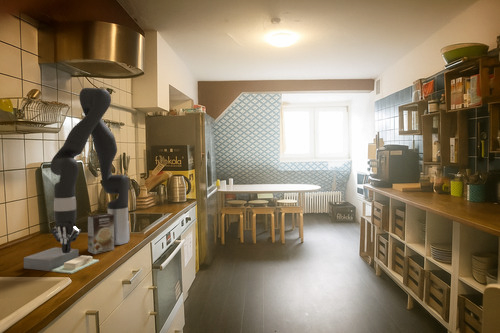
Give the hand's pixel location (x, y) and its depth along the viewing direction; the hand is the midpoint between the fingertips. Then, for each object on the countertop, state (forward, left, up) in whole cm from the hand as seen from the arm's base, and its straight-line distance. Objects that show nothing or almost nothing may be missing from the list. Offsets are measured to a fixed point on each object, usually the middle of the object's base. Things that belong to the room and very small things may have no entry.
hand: (66, 252), depth 124 cm
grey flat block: (0, -7, -5) cm, 8 cm away
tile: (0, +5, -2) cm, 6 cm away
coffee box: (-19, 0, -5) cm, 20 cm away
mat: (0, +5, -5) cm, 7 cm away
